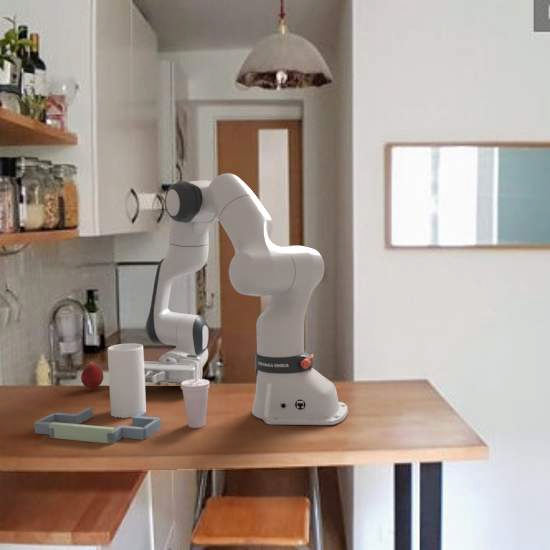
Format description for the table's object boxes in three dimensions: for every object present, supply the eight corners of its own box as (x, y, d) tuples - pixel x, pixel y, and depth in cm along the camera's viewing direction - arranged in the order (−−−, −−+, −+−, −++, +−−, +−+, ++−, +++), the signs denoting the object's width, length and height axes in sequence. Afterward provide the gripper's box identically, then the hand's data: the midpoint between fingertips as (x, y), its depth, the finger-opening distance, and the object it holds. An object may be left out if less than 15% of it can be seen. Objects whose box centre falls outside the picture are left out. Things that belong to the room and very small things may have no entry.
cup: (133, 419, 131) (130, 351, 130) (103, 416, 134) (100, 349, 132) (152, 408, 139) (149, 344, 138) (123, 405, 142) (120, 342, 140)
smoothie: (216, 421, 128) (213, 360, 127) (203, 431, 122) (201, 367, 121) (190, 419, 130) (188, 359, 129) (177, 428, 124) (174, 365, 123)
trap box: (168, 423, 128) (167, 410, 127) (136, 446, 115) (135, 431, 114) (68, 415, 135) (68, 402, 135) (28, 435, 122) (27, 421, 122)
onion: (97, 393, 153) (95, 364, 152) (77, 393, 154) (76, 364, 153) (107, 387, 158) (106, 359, 158) (88, 387, 159) (87, 359, 159)
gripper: (140, 354, 161) (112, 365, 148) (206, 356, 155) (183, 369, 142) (141, 375, 162) (114, 389, 149) (207, 379, 156) (184, 393, 143)
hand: (148, 379), depth 145 cm, fingers closed
